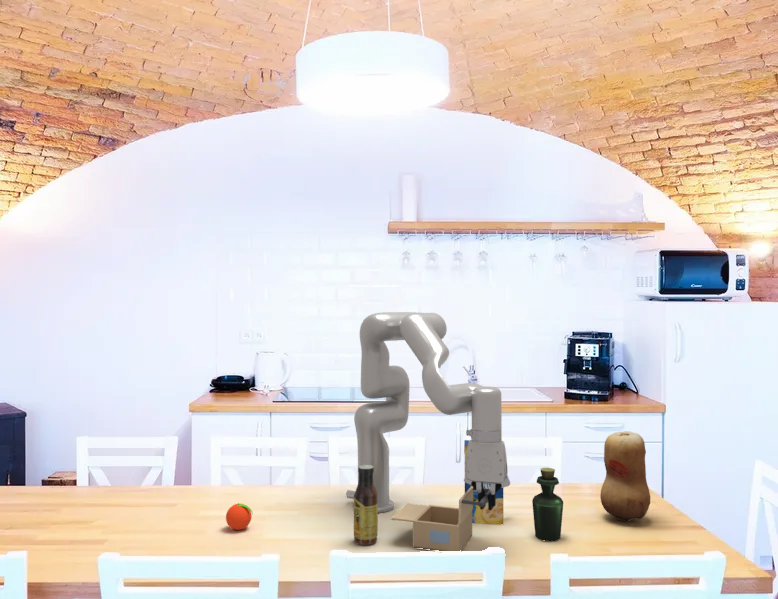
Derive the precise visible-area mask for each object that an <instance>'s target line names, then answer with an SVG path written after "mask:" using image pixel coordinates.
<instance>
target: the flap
mask: <svg viewBox="0 0 778 599" xmlns="http://www.w3.org/2000/svg"><path fill="white" fill-rule="evenodd" d="M483 489H484V491H485V492H487V493H486V494H485V496H484V497H483V498H482V499H481V501H480V502H476V501H473V490H475V488H474V487H473V486H471V487H470V488H469V489H468V491H467V492H466V493H465V492H464V493H463V495H462V496H461V497H460V498H459V499H458V508H459V518H458V524H461V523H462V522H463V521H464V520H465V518H466V517H467V516H468V515H469V513H470V512H471V511H472V510H473V505H478V506H479V507H484V505H485V504H486V503H487V501H488V495H489V493H490V489H486V488H483ZM475 491H476V490H475Z"/></svg>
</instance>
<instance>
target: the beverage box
mask: <svg viewBox="0 0 778 599" xmlns="http://www.w3.org/2000/svg"><path fill="white" fill-rule="evenodd" d="M469 440H470V439H469ZM469 440H468V439H465V440H464V446H463V447H464V448H463V449H464V470H465V469H466V455H467V447H468V442H469ZM471 486H472V485H470V484H468V483H466V482H464V494H465V493H466V492H467V491H468V489H469V488H470V487H471ZM490 487H491V483H485V482H483V488H486V489H490ZM486 493H487V492H486ZM473 501H476V502H478V493H477V491H475V490H473ZM472 524H474V525H475V524H476V525H477V524H479V525H480V524H481V525H501V524H503V525H504V488H500V489H499V490H498V491H497V492H496V505H495V506H494V507H493V509H492V510H488V501H487V503H486V506H485V507H484V509H480V507H479V506H478V505H473V510H472Z"/></svg>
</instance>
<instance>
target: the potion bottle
mask: <svg viewBox="0 0 778 599" xmlns="http://www.w3.org/2000/svg"><path fill="white" fill-rule="evenodd" d="M555 473H556V469H555V468H551V467H542V468H540V476H538V477H537V478H536V483H537V484H539V486H540V488H541V492H540V493H538V494H536V495H534V496H533V497H532V512H533V514H532V515H533V524H534V535H535V536H534V537H536V538H537V539H538V540H540V541H543V540H545V541H544V542H556V540H557V541H559V540H560V539H561V533H562V522H563V512H564V501H563V499H562V498H561V496H559V495H557V494H556V493H554V490H555V488H556V486H557V485H560V482H559V479H558V477H556V476H555ZM558 539H559V540H558Z"/></svg>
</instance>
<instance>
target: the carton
mask: <svg viewBox="0 0 778 599" xmlns="http://www.w3.org/2000/svg"><path fill="white" fill-rule="evenodd" d="M458 518H459V507H451V506H441V505H433V504H432V505H431V504H427V505H425V504H418V503H417V504H416V503H406V504H405V505H404V506H403V507H402V508H401V509H400V510H399V511H398V512H397V513H395V514H394V515H393V516H391V521H398V522H406V523H407V522H408V523H412V549H413V548H423V549H430V550H439V551H460V550H462V551H463V550H464V549H465V547H466V546H467V544H468V542H470V540H471V539H472V537H473V523H472V511H471V512H470V513H469V515H468V516H467V517H466V518H465V520H464V521H463V522H462V523H461V524H458Z"/></svg>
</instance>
